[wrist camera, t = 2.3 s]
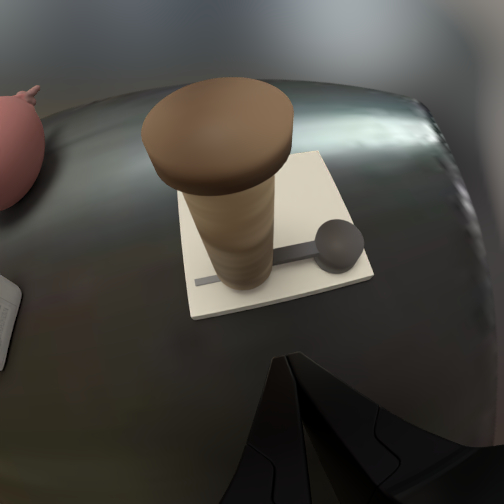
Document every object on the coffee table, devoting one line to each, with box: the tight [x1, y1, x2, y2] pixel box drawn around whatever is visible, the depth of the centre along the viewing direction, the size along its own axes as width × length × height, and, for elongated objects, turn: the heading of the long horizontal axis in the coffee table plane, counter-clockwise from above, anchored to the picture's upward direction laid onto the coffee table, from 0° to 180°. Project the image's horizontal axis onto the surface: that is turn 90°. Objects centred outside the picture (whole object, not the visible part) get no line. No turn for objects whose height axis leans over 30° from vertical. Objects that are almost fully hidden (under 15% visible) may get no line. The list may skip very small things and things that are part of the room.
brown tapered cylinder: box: [141, 77, 364, 290], centre depth 15 cm, size 11×5×14 cm, turn 101°
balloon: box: [0, 85, 45, 211], centre depth 23 cm, size 15×20×15 cm
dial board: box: [177, 151, 374, 320], centre depth 23 cm, size 14×14×1 cm
